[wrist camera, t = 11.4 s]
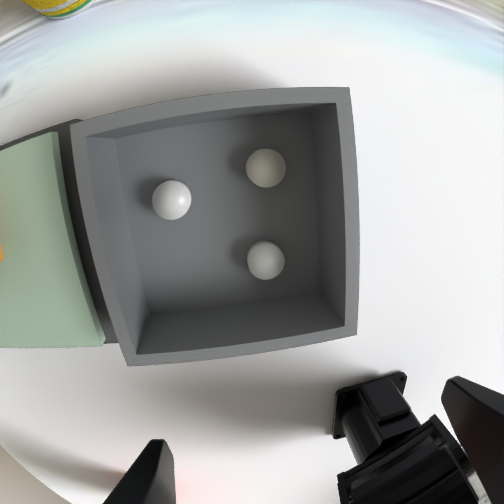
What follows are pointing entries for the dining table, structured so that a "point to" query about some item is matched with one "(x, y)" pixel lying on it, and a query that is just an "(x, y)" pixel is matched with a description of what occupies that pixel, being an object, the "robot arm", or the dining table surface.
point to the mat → (78, 221)
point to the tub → (224, 222)
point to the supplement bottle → (59, 7)
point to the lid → (41, 254)
